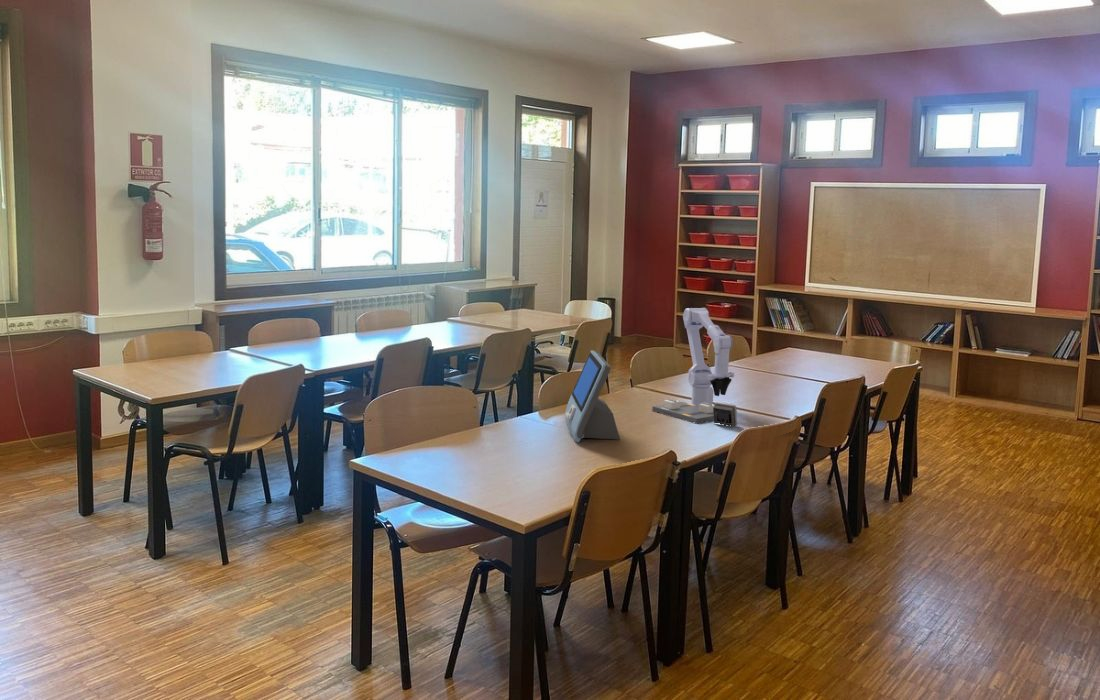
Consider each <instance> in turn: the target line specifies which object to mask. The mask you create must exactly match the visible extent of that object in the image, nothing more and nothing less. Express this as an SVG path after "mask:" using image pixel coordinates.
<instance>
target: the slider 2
mask: <svg viewBox="0 0 1100 700" xmlns="http://www.w3.org/2000/svg"><path fill="white" fill-rule="evenodd" d="M713 408H714V403H713V404H709V403H706V402H703V404H699V409H698V411H700V412H703V413H713Z"/></svg>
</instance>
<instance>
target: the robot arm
mask: <svg viewBox="0 0 1100 700" xmlns="http://www.w3.org/2000/svg"><path fill="white" fill-rule="evenodd" d="M682 319H683V324H684V328H685V329H686V333H687V334H686V335H687V338H688V344H689V350H690V356H691V360H692V366H691V367H690V368H689V369H688V383H689V384H690V387H691V403H690V402H689V404H693V405H696V406H699V404H703V402H706V403H709V404H713V405H714V396H715V397H716V396H717V397H719V396H720V395H722V396H726V395H727V390H728V388H729V385H730V383H731V382H732V381H733V380H732V378H734V377H735V372H732V371H729V363H730V350H731V349H732V348H733V344H734V341H733V338H732V336H731V335H728V334H725V332H724V331H723V329H721V328H720V326H719V325H718V324H714V322H713V321H712V320H711V318H710V312H709V310H708V309H707V308H706V307H701V308H700V307H699V308H697V307H694V308H693V307H690V308H689V307H687V308H685V309H684V311H683V314H682ZM703 327H704V328H705V329H706V330H707V332H706V334H707V335H708V337H709V338H710V339H711V341H712V343H713V344H712V345H713V348H714V349H713V351H714V353H715V355H714V373H712V370H711V367H710V366H709V365H707V364H706V363H705V359H704V357H705V356H704V352H703V347H702V342H701V336H700V330H701V329H702V328H703Z"/></svg>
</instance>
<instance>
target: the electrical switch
mask: <svg viewBox="0 0 1100 700" xmlns="http://www.w3.org/2000/svg"><path fill="white" fill-rule="evenodd" d="M713 405H714V408H713V413H714V420H713V424H714V423H720V424H724V423H725V425H731V426H732V427H735V426H734V425H736V426H737V425H738V414H737V412H738V411H737V405H736V404H732V403H731V404H730V403H724V402H718V401H715V402H713Z"/></svg>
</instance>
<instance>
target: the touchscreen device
mask: <svg viewBox="0 0 1100 700" xmlns="http://www.w3.org/2000/svg"><path fill="white" fill-rule="evenodd" d="M610 371H611V366H610V364H609V363H608V362H607V361H606V359H605V358H604V357H603V356H602V355H601V354H600V353H599V352H597V351H595V350H593V349H592V350H590V352H589V354H588V356H587V358H586V361H585V363H584V365H583V367H582V369H581V372H580V374H579V376H578V379H577V381H576V383H575V385H574V386H573V390H572V392H571V393H570V397H569V399H568V402H567V405H566V409H565V411H564V412H565V413H564V415H565V421H566V425H567V426H568V429H569V432H570V434H571V436H572V438H573V440H574V441H575V443H580V442H581V440H582V439H596V440H597V439H599V440H601V439H602V440H616V441H617V440H618V441H619V440H621V438H620V434H619V431H618V427H617V424H616V420H615V416H614V413H613V412H612V410H611V409H610V407H609V405H608V404H607V403H606V401H605V400H604V399H603V398H599V396H600V394H601V393H602V391H603V387H604V385H605V383H606V381H607V379H608V377H609V374H610Z"/></svg>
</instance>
